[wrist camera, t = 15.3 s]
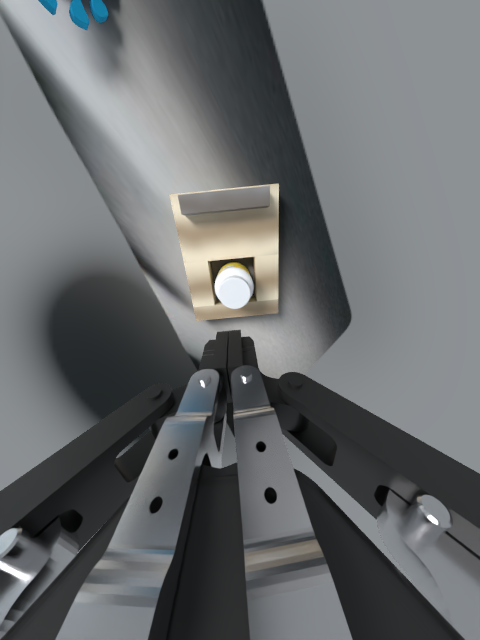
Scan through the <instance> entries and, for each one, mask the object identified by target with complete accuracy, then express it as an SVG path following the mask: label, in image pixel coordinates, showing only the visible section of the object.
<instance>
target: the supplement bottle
mask: <svg viewBox="0 0 480 640" xmlns="http://www.w3.org/2000/svg"><path fill="white" fill-rule="evenodd" d="M253 289H254V285H253V280H252V278H251V276H250V274H249V271H248V270H247V268H246V267H245V266H244V265H243V264H241V263H239V262H229V263H227V264H225V265H224V266H223V267H222V268H221V269H220V271H219V273H218V276H217V278H216V281H215V293H216V295H217V297H218V299H219V300H220V301H221V303H222V304H223V305H224V306H226V307H228V308H231V309H238V308H241V307H243V306H244V305H246V304H247V302H248V301H249V299H250V298H251V296H252V294H253Z"/></svg>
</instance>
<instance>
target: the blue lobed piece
mask: <svg viewBox="0 0 480 640" xmlns="http://www.w3.org/2000/svg"><path fill="white" fill-rule="evenodd" d="M39 2H40V3H41V4H42V5H43V6H44V7H45V8H46V9H47V10H48V11H49V12H50V13H51V14H52V15H55V14H56V8H57V1H56V0H39ZM90 9H91V13H92V15H93V17H94V19H95V20H96V21H97V22H99V23H102V22H105V21H106V20H107V17H108V11H107V8H106V6H105V5H104V3H103V2H102V0H90ZM69 13H70V17H71V19H72V21H73V22H74V23H75V24H76V25H77V26H79V27H81V28H83V29H85V30H87V29H88V25H89V18H88V15H87V13H86V11H85V9H84V7H83V5H82V3H81V0H72V2H71V5H70V10H69Z"/></svg>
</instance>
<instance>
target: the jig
mask: <svg viewBox="0 0 480 640" xmlns="http://www.w3.org/2000/svg"><path fill="white" fill-rule="evenodd" d="M170 199H171V204H172V209H173V213H174V218H175V223H176V228H177V232H178V237H179V242H180V246H181V251H182V256H183V260H184V265H185V270H186V274H187V279H188V284H189V288H190V293H191V298H192V302H193V307H194V312H195V316H196V321H200V320H211V319H222V318H233V317H244V316H255V315H265V314H276V313H278V243H279V184H270V185H260V186H250V187H240V188H230V189H220V190H210V191H200V192H190V193H180V194H170ZM245 257H253V266H254V285H255V296H251V298H250V299H249V301H248V302H247V304H246V305H244V306H243V307H241V308H238V309H231V308H228V307H226V306H224V305H223V304H222V303H221V301H220V300H219V299H216V294H215V288H214V281H213V275H212V268H211V261H214V260H224V259H235V258H245Z"/></svg>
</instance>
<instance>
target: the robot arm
mask: <svg viewBox="0 0 480 640" xmlns="http://www.w3.org/2000/svg"><path fill="white" fill-rule="evenodd" d="M232 400H233V407H234V413H233V415H234V429H235V442H236V453H237V463H234V464H232V465H230V466H227V467H224V468H222V463H221V461H222V449H223V441H224V432H225V424H226V406H227V403H230V402H232ZM147 428H149V429H150V431H149V432H148V433H147V434H146V435H145V436H143V437H142V438H141V439H140V440H139V441H138V442H137V443H136V444H134V445H133V446H132V447H131V448H130V449H129V450H128V451H126V452H125V453H124V454H123V455H122V456H120V457H119V458H116V457H117V455H118V454H119V453H120V452H121V451H122V450H123V449H124V448H125V447H127V446H128V445H129V444H130V443H131V442H132V441H133V440H134V439H136V438H137V437H138V436H139V435H140V434H142V433H143V432H144V431H145V430H146V429H147ZM283 435H285V436H286V437H287V438H288V439H289V440H290V441H291V442H292V443H293V444H294V445H296V447H298V448H299V449H300V450H301V451H302V452H303V453H304V454H305V455H306V456H307V457H309V458H310V459H311V460H312V461H313V462H314V463H315V464H316V465H317V466H318V467H319V468H321V469H322V470H323V471H324V472H325V473H326V474H327V475H328V476H329V477H330V478H332V479H333V480H334V481H335V482H336V483H337V484H338V485H339V486H340V487H341V488H342V489H344V490H345V491H346V492H347V493H348V494H349V495H350V496H351V497H352V498H354V499H355V500H356V501H357V502H358V503H359V504H360V505H361V506H362V507H363V508H365V510H367V511H368V512H369V513H370V514H371V515H372V516H373V517H374V518H375V519H377V526H378V529H379V533H380V536H381V538H382V540H383V543H384V544H385V546H386V548H387V550H388V551H389V553H390V554H391V555H392V557H393V558H394V559H395V560H396V562H397V563H398V564H399V565H400V566H401V567H402V569H403V570H404V571H405V572H406V574H407V575H408V576H409V578H410V579H411V581H412V582H413V584H414V585H415V586H414V585H413V584H412V583H411V582H410V581H409V580H408V579H407V578H406V577H405V576H404V575H403V574H402V573H401V572H400V571H399V570H398V569H397V568H396V567H395V565H394V564H392V563H391V561H390V560H389V559H388V558H387V557H386V556H385V555H384V554H383V553H382V552H381V551H380V550H379V549H378V548H377V547H376V546H375V544H374V543H373V542H372V541H371V540H370V539H369V538H368V537H367V536H366V535H365V534H364V533H363V532H362V531H361V530H360V529H359V528H358V527H357V526H356V525H355V524H354V523H353V521H352V520H351V519H350V518H349V517H348V516H347V515H346V514H345V513H344V512H343V511H342V510H341V509H340V508H339V507H338V506H337V505H336V504H335V502H333V500H332V499H331V498H330V497H329V496H328V495H327V494H326V493H325V492H324V491H323V490H322V489H321V488H320V487H319V486H318V485H317V484H316V483H315V482H314V481H312V480H311V479H310V478H309V477H307V476H306V475H305V474H303V473H302V472H300V471H298V470H296V469H294V468H293V466H292V462H291V459H290V457H289V453H288V450H287V447H286V444H285V441H284V438H283ZM115 458H116V459H115ZM107 520H108V521H107ZM106 521H107V522H106ZM105 522H106V523H105ZM104 523H105V524H104ZM98 530H99V531H98ZM97 531H98V532H97ZM96 532H97V533H96ZM95 533H96V534H95ZM94 534H95V535H94ZM93 535H94V536H93ZM92 536H93V537H92ZM91 537H92V538H91ZM90 538H91V539H90ZM89 539H90V541H89V542H88V543H87V541H88V540H89ZM86 543H87V544H86ZM85 544H86V545H85ZM84 545H85V546H84ZM83 546H84V547H83ZM82 547H83V548H82ZM81 548H82V549H81ZM80 549H81V551H80V552H79V553H78V554H77V552H78V551H79V550H80ZM0 640H480V474H479V473H477V472H475V471H474V470H472V469H470V468H468V467H467V466H465V465H463V464H461V463H459V462H458V461H456V460H454V459H452V458H451V457H449V456H447V455H445V454H443V453H442V452H440V451H438V450H436V449H435V448H433V447H431V446H429V445H427V444H426V443H424V442H422V441H420V440H419V439H417V438H415V437H413V436H411V435H410V434H408V433H406V432H404V431H402V430H401V429H399V428H397V427H395V426H394V425H392V424H390V423H388V422H387V421H385V420H383V419H381V418H379V417H378V416H376V415H374V414H372V413H371V412H369V411H367V410H365V409H363V408H362V407H360V406H358V405H356V404H355V403H353V402H351V401H349V400H347V399H346V398H344V397H342V396H340V395H339V394H337V393H335V392H333V391H331V390H330V389H328V388H326V387H324V386H323V385H321V384H319V383H317V382H316V381H313V380H312V379H310V378H308V377H307V376H305V375H303V374H300V373H297V372H288V373H285V374H283V375H282V376H281V377H280V378H279V379H275V378H270V377H267V376H265V375H263V374H262V373H261V372H260V370H259V368H258V363H257V358H256V352H255V347H254V341H253V340H252V339H251V338H250V337H241V330H232V331H222V332H217V335H216V340H209V341H208V343H207V344H206V345H205V347H204V352H203V356H202V359H201V363H200V367H199V371H198V372H196V373H195V374H194V375H193V376H192V377H191V379H190V381H189V383H188V384H187V385H185V386H182V387H179V388H176V389H173V390H172V389H171V387H170V386H169V385H168V384H164V383H162V384H161V383H160V384H156V385H153V386H151V387H149V388H147V389H146V390H145V391H143V392H142V393H140V394H139V395H137V396H136V397H134V398H133V399H132V400H130V401H129V402H128V403H126V404H124V405H123V406H122V407H120V408H119V409H117V410H116V411H114V412H113V413H112V414H110V415H109V416H107V417H106V418H105V419H103V420H102V421H100V422H99V423H97V424H96V425H94V426H93V427H92V428H90V429H89V430H87V431H86V432H84V433H83V434H82V435H80V436H79V437H77V438H76V439H74V440H73V441H72V442H70V443H69V444H67V445H66V446H65V447H63V448H62V449H60V450H59V451H57V452H56V453H54V454H53V455H52V456H50V457H49V458H47V459H46V460H44V461H43V462H42V463H40V464H39V465H37V466H36V467H34V468H33V469H31V470H30V471H29V472H27V473H26V474H24V475H23V476H21V477H20V478H19V479H17V480H16V481H14V482H13V483H12V484H10V485H9V486H7V487H6V488H4V489H3V490H1V491H0Z"/></svg>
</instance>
